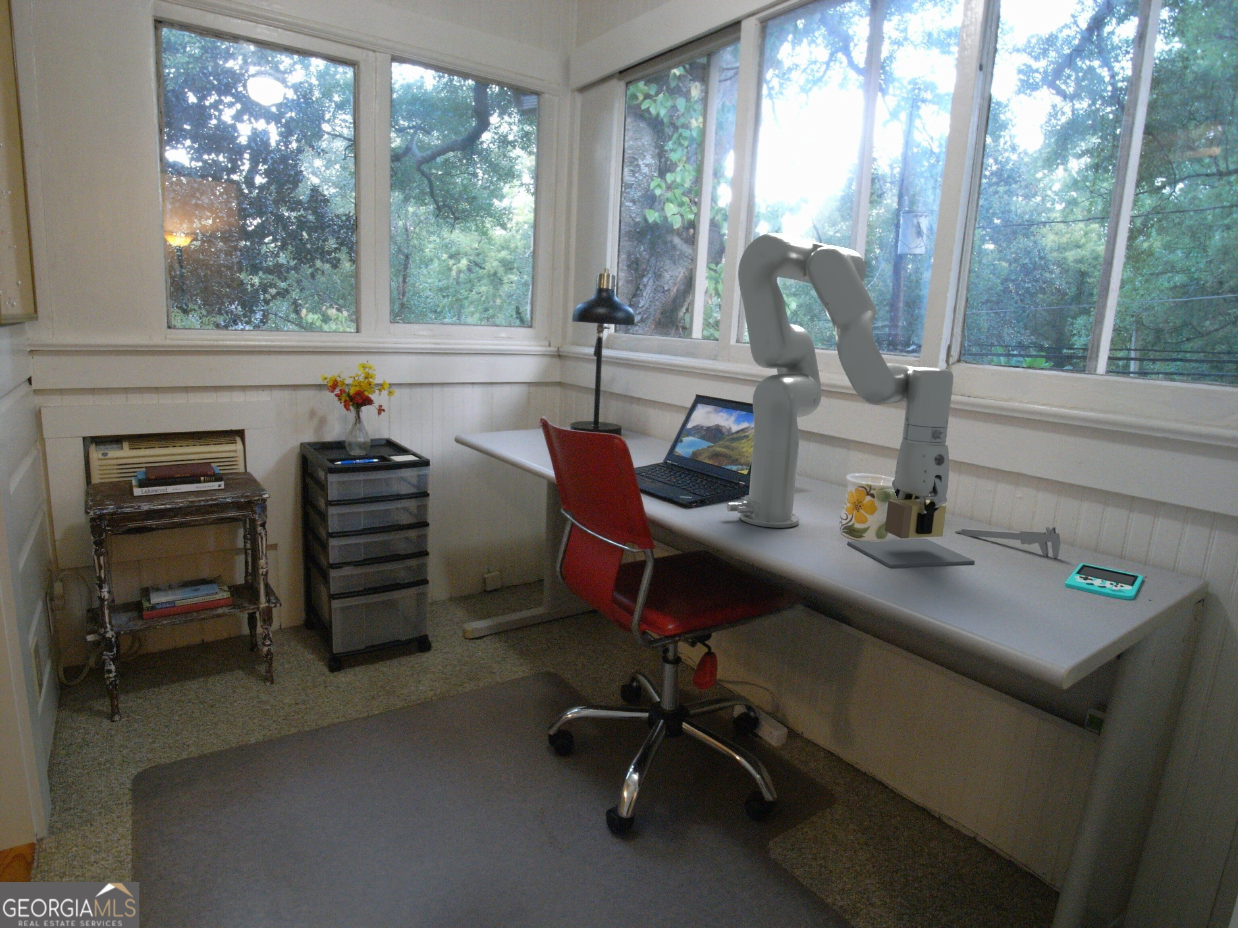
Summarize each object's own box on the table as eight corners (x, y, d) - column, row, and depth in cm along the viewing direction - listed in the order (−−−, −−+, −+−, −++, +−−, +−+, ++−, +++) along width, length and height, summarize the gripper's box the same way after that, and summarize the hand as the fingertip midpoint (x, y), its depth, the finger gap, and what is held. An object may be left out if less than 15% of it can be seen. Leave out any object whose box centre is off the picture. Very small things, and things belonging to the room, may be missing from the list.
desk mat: (890, 567, 133) (890, 564, 133) (847, 544, 147) (847, 541, 146) (974, 563, 138) (974, 560, 138) (925, 541, 151) (925, 538, 151)
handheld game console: (1061, 588, 128) (1063, 581, 128) (1078, 568, 140) (1079, 561, 140) (1131, 604, 122) (1132, 596, 122) (1142, 581, 134) (1143, 574, 134)
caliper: (1058, 559, 144) (1063, 528, 143) (1055, 560, 144) (1060, 529, 142) (957, 533, 160) (961, 504, 159) (954, 533, 159) (958, 505, 158)
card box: (942, 536, 140) (946, 505, 139) (901, 538, 138) (904, 506, 137) (925, 529, 145) (928, 499, 144) (884, 530, 143) (888, 499, 141)
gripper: (974, 441, 131) (961, 541, 134) (913, 428, 147) (903, 517, 150) (937, 442, 129) (925, 543, 132) (879, 428, 145) (870, 518, 148)
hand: (913, 528), depth 141 cm, fingers closed on card box, 4 cm apart
